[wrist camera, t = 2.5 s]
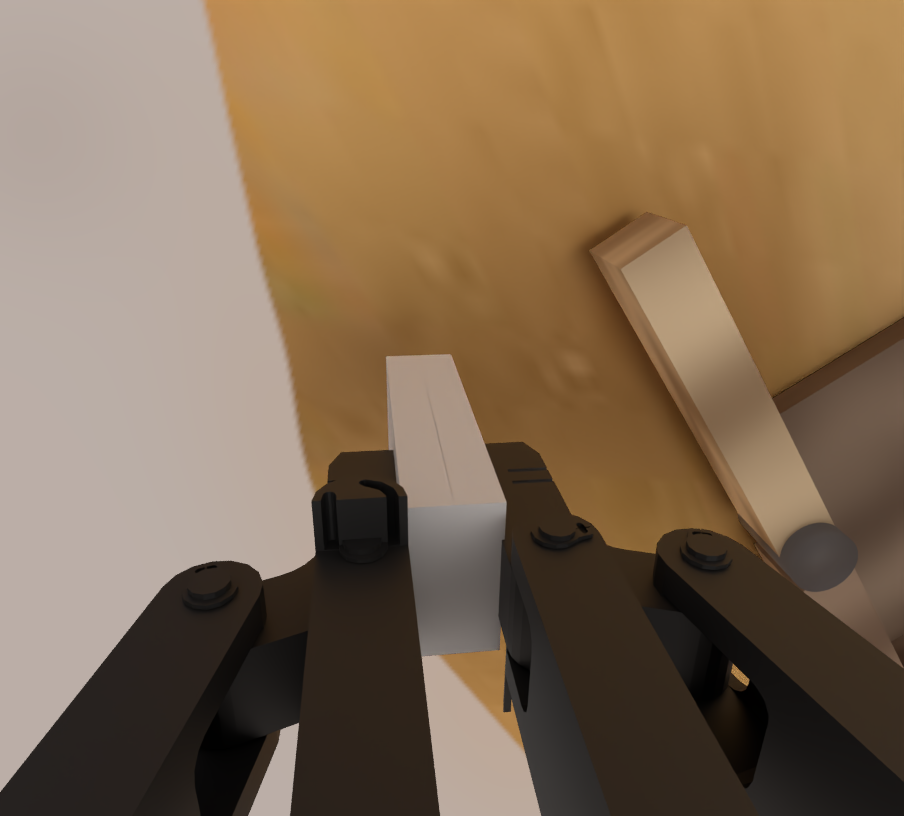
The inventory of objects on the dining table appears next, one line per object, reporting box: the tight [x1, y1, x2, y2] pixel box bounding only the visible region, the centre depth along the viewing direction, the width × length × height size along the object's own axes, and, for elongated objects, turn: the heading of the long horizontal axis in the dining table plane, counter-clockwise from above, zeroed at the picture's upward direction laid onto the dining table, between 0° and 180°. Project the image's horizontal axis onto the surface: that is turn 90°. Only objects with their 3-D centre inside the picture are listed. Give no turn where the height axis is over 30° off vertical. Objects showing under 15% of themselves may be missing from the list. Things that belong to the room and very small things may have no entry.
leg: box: [589, 212, 858, 592], centre depth 21 cm, size 13×2×4 cm, turn 34°
